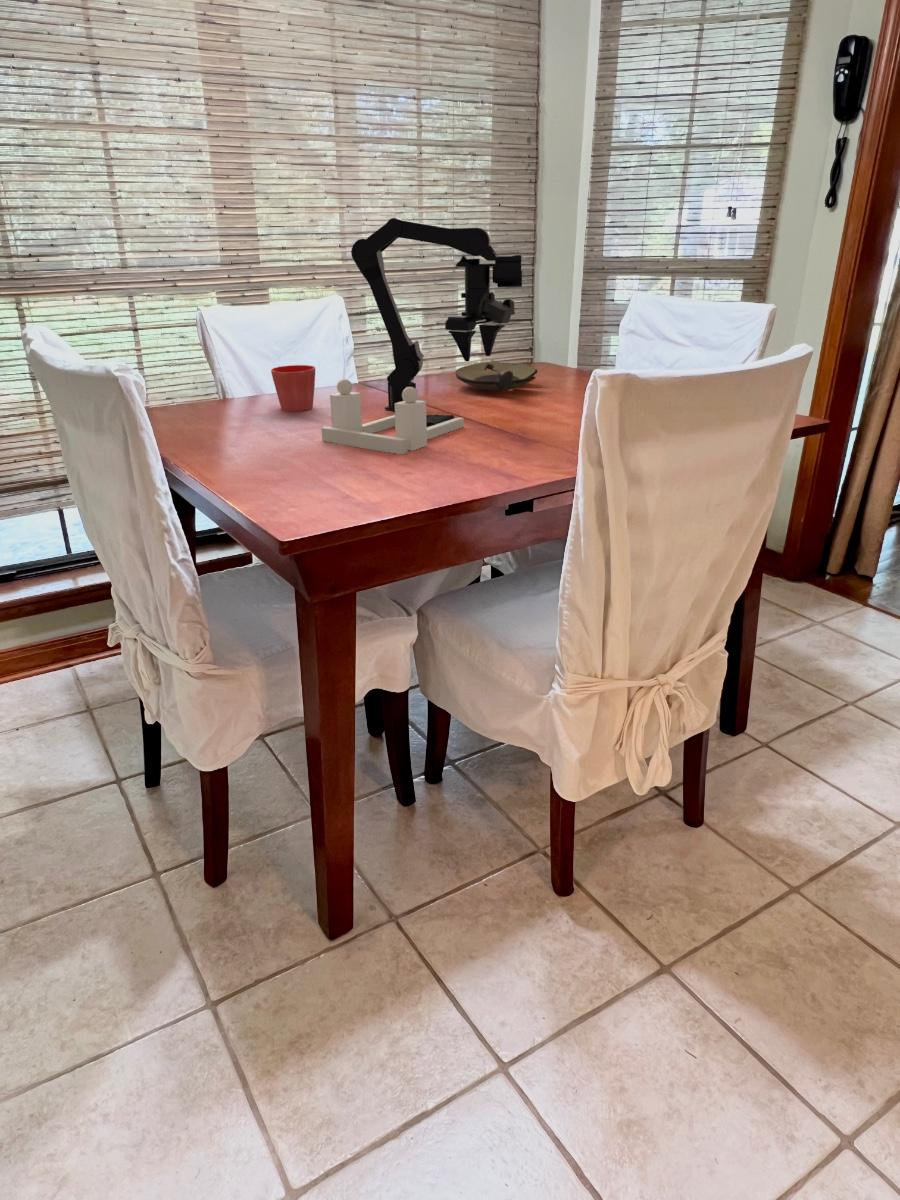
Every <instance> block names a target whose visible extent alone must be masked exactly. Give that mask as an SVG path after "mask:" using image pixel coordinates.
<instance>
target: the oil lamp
mask: <svg viewBox="0 0 900 1200" xmlns="http://www.w3.org/2000/svg"><path fill="white" fill-rule="evenodd" d="M537 373H538V369H537V368H535V367H533V366H531V365H529V364H524V363H514V362H512V363H511V362H499V361H496V362H495V361H492V362H480V363H474V364H469V365H465V366H462V367H459V368H458V369H456V370H455V378H456V379H458V380H459V381H460V382H462V383H465V384H467V385H468V386H470V387H473V388H475V389H479V390H481V391H482V390H483V391H487V392H507V391H510V390H515V389H517V388H520V387H523V386H524V385H527V384H528V383H530V382H532V381H534V380H535V379H537V376H535V375H536V374H537Z"/></svg>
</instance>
